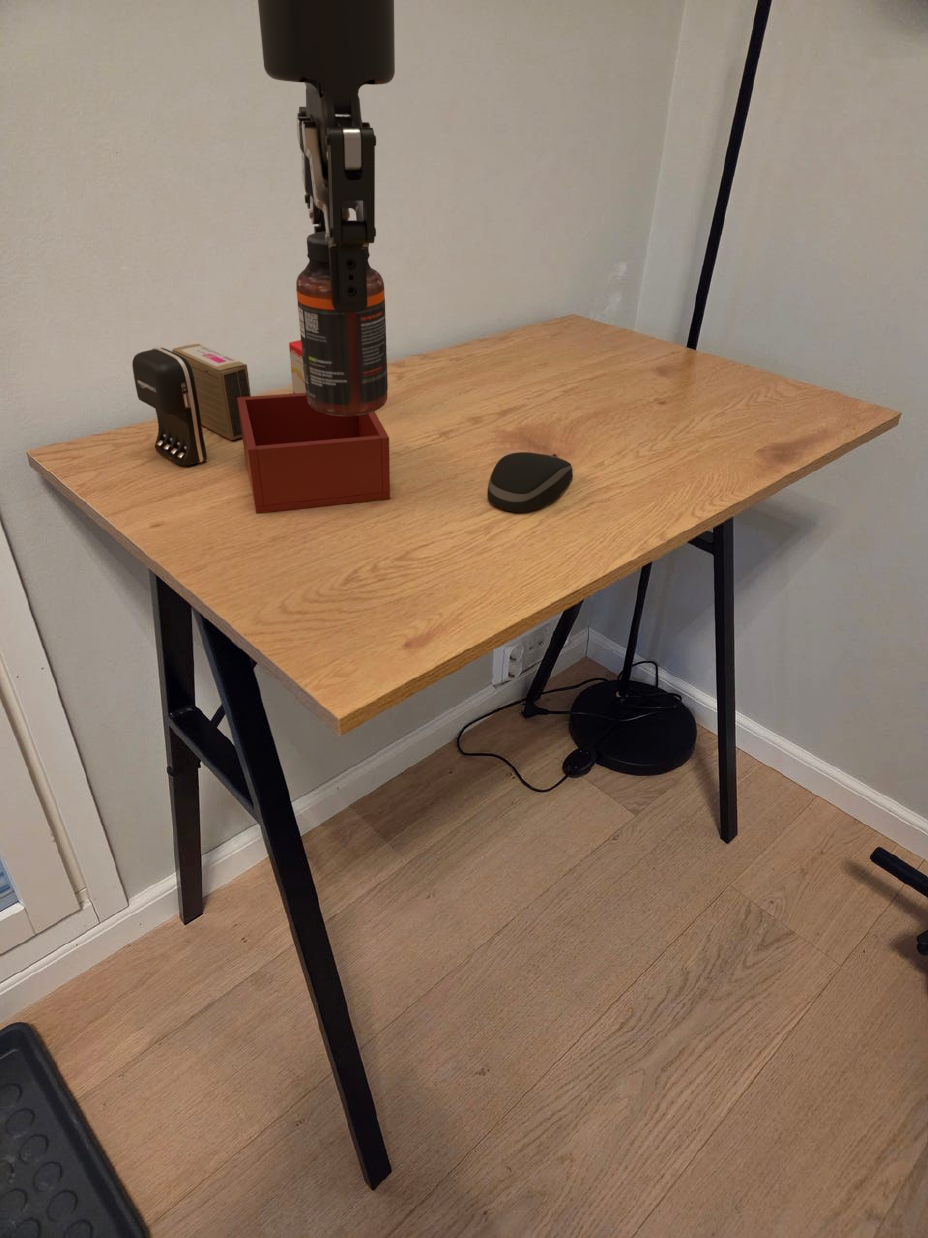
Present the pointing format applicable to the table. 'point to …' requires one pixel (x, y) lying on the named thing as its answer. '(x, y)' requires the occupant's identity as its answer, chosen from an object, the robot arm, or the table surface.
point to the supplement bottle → (341, 340)
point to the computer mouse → (528, 481)
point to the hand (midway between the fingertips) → (341, 295)
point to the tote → (311, 454)
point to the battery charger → (171, 404)
